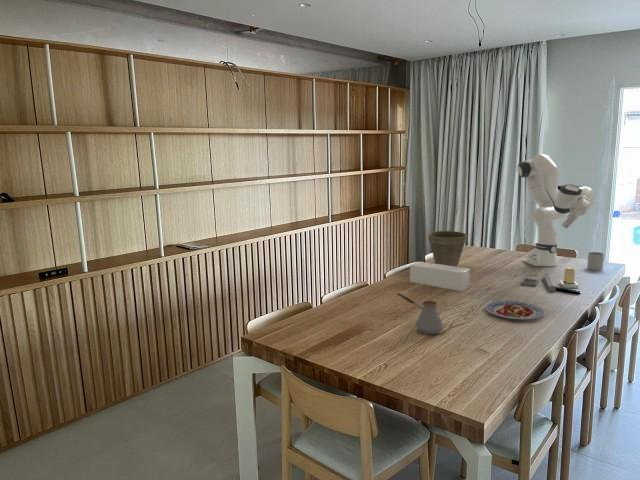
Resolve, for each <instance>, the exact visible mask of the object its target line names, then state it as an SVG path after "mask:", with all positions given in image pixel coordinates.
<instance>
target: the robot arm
mask: <svg viewBox="0 0 640 480" xmlns="http://www.w3.org/2000/svg"><path fill="white" fill-rule="evenodd" d="M516 170H517V174H518V175H519V177H520V178H525V179H526V185H527V187H528V191H529V193H530V196H531V198H532V200H533V202H534V203H535V204H537V205H538V206H539V207H538V208H536V209H534V210H533V211H532V213H531V219H532V221H534V223H535V224H536V226H537V227H536V228H537V242H536V243H534V246H535V248H534V247H533V248H532V249H531V250H529V251H528V252H527V254H526V258H523V259H522V262H525V263H526V264H529V265H532V266H535V267H536V266H537V267H557V266H558V261H557V259H558V257H557V249H558V248H557V247H558V244H557V236H558V234H557V233H558V232H557V230H555V227H554V224H553V223H557V222H559V221H561V220H563V219H564V220H563V221H562V223H561V226H562V228H565V230H567V229H568V228H569V227H570V226H571V225H572V224H573V223H574V222H575V221H576V220H577V219H578V218H579V217H581V216H584V215H585V214H586V213H588V212H587V211H588V210H589V208H590V207H591V205H592V204H593V200H594V197H595V193H594V190H593V189H592V188H591V187H588V186H582V187H579V186H576V185H574V184H564V185H562V186H560V187H559V188H558V179H559V168H558V166H557V164H556V163H555V162H554V160H553V158H552V157H551V156H550V155H547V154H543V153H538V154H536V155H535V156H534V157H532V158H529V159H527V160H525V161H521V162H520V163H518V165H517V168H516ZM568 213H569V214H568ZM566 214H568V215H566Z"/></svg>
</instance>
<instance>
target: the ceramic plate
mask: <svg viewBox="0 0 640 480" xmlns="http://www.w3.org/2000/svg"><path fill="white" fill-rule="evenodd" d="M485 309H486V310H487V311H488V312H489V313H490V314H493V315H495V316H497V317H501V318H506V319H511V320H533V319H534V320H535V319H539V318H542V317H543V316H544V315H545V310H544V309H543V308H541V307H539V306H538V305H535V304H532V303H528V302H523V301H517V300H495V301H492V302H489V303H487V304H486V305H485Z"/></svg>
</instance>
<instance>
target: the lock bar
mask: <svg viewBox="0 0 640 480" xmlns="http://www.w3.org/2000/svg"><path fill="white" fill-rule="evenodd" d="M575 273H576V270H575V268H573V267H570V266H569V267H564V275H563V281H564V284H574V281H575Z"/></svg>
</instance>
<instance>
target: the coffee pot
mask: <svg viewBox="0 0 640 480" xmlns="http://www.w3.org/2000/svg"><path fill="white" fill-rule="evenodd" d="M398 297H401V298H403V299H404V300H405V301H407V302H409V303H410V304H412V305H414V306H415V307H418V308H419V309H420V310H421V313H420V314H419V316H418V319H417V320H416V323H415V327H416V328H417V330H418V331H419V332H420V333H422V334H423V335H431V336H432V335H436V334H438V333H439V332H441V331H442V330H443V328H444V324H443V322H442V320H441V317H440V314H439V312H438V310H437V305H438V302H436V301H434V300H423V301H422V302H421V305H422V306H421V305H419V304H418V303H416V302H414V301H413V300H411V299H410V298H409V297H407V296H405V295H404V294H401V292H397V294H396V298H398Z"/></svg>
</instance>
